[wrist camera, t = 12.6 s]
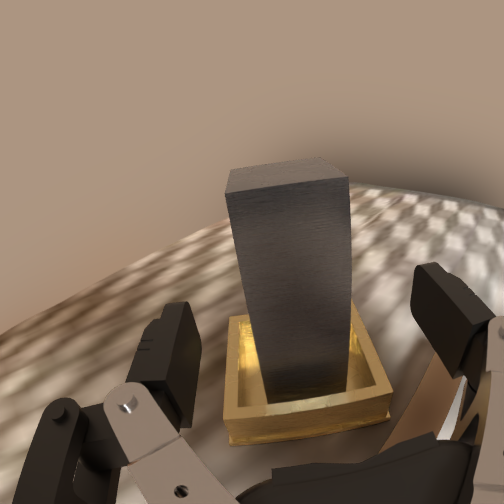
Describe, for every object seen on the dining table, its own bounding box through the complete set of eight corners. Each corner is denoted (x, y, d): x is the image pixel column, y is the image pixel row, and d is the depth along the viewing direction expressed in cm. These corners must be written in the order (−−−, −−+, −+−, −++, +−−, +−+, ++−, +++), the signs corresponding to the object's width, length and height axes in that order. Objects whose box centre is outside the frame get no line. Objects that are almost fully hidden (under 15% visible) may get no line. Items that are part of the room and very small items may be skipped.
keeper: (230, 445, 16) (219, 422, 15) (234, 342, 25) (227, 315, 24) (389, 420, 16) (397, 393, 15) (351, 324, 25) (352, 296, 24)
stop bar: (269, 410, 18) (225, 193, 12) (265, 357, 23) (230, 169, 17) (345, 397, 18) (348, 176, 12) (330, 347, 23) (320, 157, 16)
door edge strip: (299, 554, 9) (297, 548, 8) (434, 363, 19) (443, 333, 18) (337, 575, 8) (343, 573, 6) (461, 372, 17) (473, 342, 16)
